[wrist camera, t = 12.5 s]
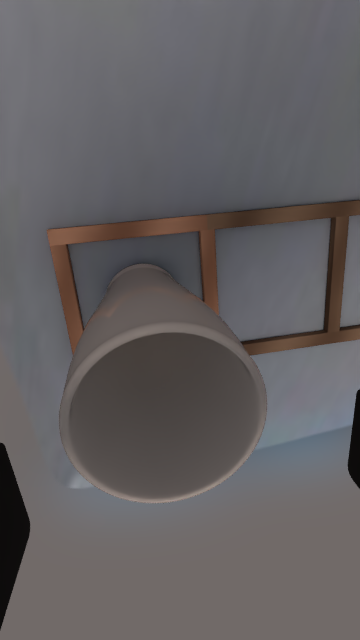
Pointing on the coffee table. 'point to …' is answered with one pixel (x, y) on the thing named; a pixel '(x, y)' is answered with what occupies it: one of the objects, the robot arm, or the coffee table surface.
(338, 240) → the copper window frame
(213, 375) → the drinking glass
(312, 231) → the coffee table surface
